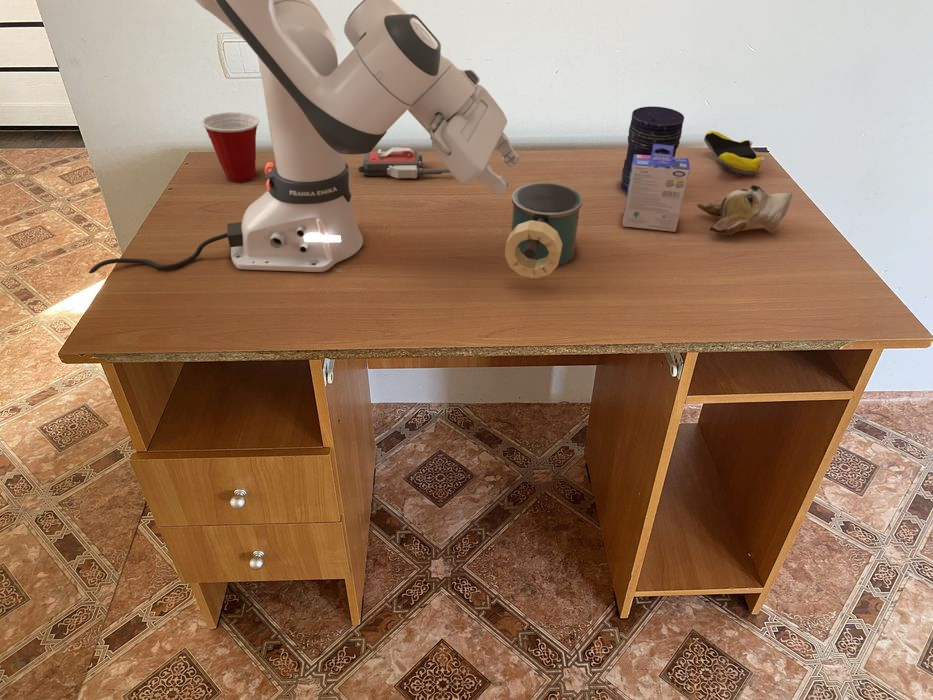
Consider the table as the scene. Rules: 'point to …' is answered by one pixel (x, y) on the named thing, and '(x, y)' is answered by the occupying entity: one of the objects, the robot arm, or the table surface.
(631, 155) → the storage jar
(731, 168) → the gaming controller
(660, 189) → the ink cartridge box
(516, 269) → the tape roll
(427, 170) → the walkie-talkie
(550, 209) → the saucepan
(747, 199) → the ceramic sculpture
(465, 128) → the robot arm
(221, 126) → the plastic cup
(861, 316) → the table surface
